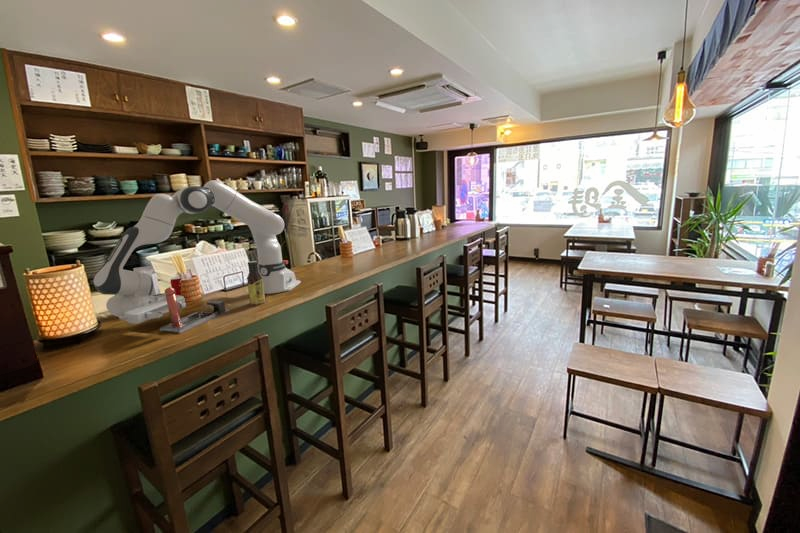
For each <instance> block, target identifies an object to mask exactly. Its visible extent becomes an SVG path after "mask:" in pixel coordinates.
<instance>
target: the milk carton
mask: <svg viewBox="0 0 800 533" xmlns="http://www.w3.org/2000/svg"><path fill="white" fill-rule="evenodd" d="M132 269H133V270H132V271H136V272H141V273H146V274H148V275H149V276H150V277H151V279H152V281H153V290H152V293H151V295H157V294H162V293H161V288H160V284H159V280H158V276H157V275H158V274H157V272H156V271H155V269H154V267H153V265H149V266H139V267H134V268H132ZM151 295H150V296H151Z"/></svg>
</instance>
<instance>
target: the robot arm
mask: <svg viewBox="0 0 800 533" xmlns="http://www.w3.org/2000/svg"><path fill="white" fill-rule="evenodd" d="M211 206H212V207H214V208H216V209H218V210H219V211H221V212H223V213H224V214H226V215H228V216H230V217H231V218H233V219H235V220H236V221H239V222H240V223H243V224H244V225H246V226H248V228H249V229H250V232H251V235H252V238H253V239H252V240H253V241H254V244H255V247H256V251H257V252H256V253H257V260H258V270H259V273H260V275H261V277H262V279H263V287H264V295H266V294H267V295H269V294H276V293H282V292H290V291H292V290H293V289H294V288H296V287H297V286H298V285H299V284H301V280H299V279H296V275H295V274H296V273H295V272H294V271H292V270H290V269H289V268H287V267H286V265H288V264H289V260H285V259H283V255H282V247H281V245H280V244H281V243H279V241H278V237H277V235H279V234H281V233H282V232H283V231H284V230H285V221H284V219H283V218H282V217H281V216H280V215H279V214H277V213H275V212H273V211H272V210H270V209H268V208H266V207H264V206H262V205H261V204H259V203H256V202H255V201H253V200H251V199H249V198H248V197H246V196H245V195H244V194H242V193H240V192H239V191H238V190H236V189H234V188H232V187H230V186H228V185H227V184H225V183H222V182H220V181H218V180H212V179H211V180H209V181H207V182H205V183H204V185H203V186H195V185H194V186H185V187H182V188H180V189H178V190H176V191H175V192H174V193H172V194H170V195H169V194H166V193H156V194H154V195H153V196H152V197H151V198H150V200H149V201H148V202H147V204H146V206H145V209H144V210H143V212H142V215H141V218H140V219H139V220H138V222H137V223H136V224H135V225H134V226H132V227H128V228H127V229H126V230H125V231H124V232H123V233H122V235H121V237H120V238H119V240H118V241H117V243H116V244H115V246H114V248H113V249H112V251H111V252H110V254H109V255H108V256H107V259H106V260H105V261H104V263H103V265H102V266H101V267H100V268H99V269H98V270H97V272H96V273H95V275H94V276H93V279H92V285H93V286H94V289H96V290H97V292H99V293H100V294H101V295H109V296H110V295H111V297H110V298H108V299H107V301H106V309H107V311H108V312H109V313H110V314H111V315H113V316H115V317H118V319H119V320H122V321H125V323H128V324H133V325H138V324H142V323H144V322H147V321H149V320H151V319H160V318H163V316H164V314H166V313H169V309H168V305H167V300H166V295H165V292H163V293H161V294H157V295H151V293H152V290H153V281H152V279H151V277H150V276H149V275H148V274H146V273H141V272H136V271H134V270H128V269H124V266H125V265H126V263H127V261H128V260H129V258H130V256H131V255H132V253H133V252H134V250H135V249H136V248H138V247H140V246H144V245H151V244H159V243H162V242H164V241H166V240H167V239H169V237H170V236H171V234H172V233H173V230H174V228H175V225H176V221H177V219H178V218H179V216H180V215H181V214H192V215H193V214H200V213H203V212H205V211H206V210H208V209H209V208H210V207H211ZM150 295H151V296H150ZM176 299H177V304H178V309H185V308H186V307H187V303H186V302H187V301H186V302H185V298H184V296H179V295H176Z"/></svg>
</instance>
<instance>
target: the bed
mask: <svg viewBox="0 0 800 533" xmlns="http://www.w3.org/2000/svg"><path fill="white" fill-rule="evenodd" d="M206 305H212V306H213V307H214V312H213V313H211V314H210V315H208V314H205V313H204V312H203V311H201V312H200V313H199V312H197V311H196V312H194V313H191V314H188V315H187V316H183V317H184V318H188V320H189V322H187V323H185V324H186V325H187V326H185V327H183V328H181V329H179V330H178V332H171V331H163V329H162V328H164V327H166V326H168V325H170V324H172V323H171V322H170V323H168V324H166V325H163V326H161V327H159V331H160V332H163V333H174V334H183V333H185V332H188V331H190V330H191V329H193V328H195V327H198V326H200V325H202V324H204V323H206V322H208V321H210V320H213V319H215V318H216V317H218V316H221V315H223V314H225V313H227V312H230V311H231V309H227V308H225V301H224V300H215V299H214V300H209V301H207V302H206Z"/></svg>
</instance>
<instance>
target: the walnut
mask: <svg viewBox="0 0 800 533" xmlns="http://www.w3.org/2000/svg"><path fill="white" fill-rule="evenodd" d="M202 312H204V313H205V314H208V315H210V314H211V313H213V312H214V307H213V306H212V305H207V304H206V305H204V307H203V309H202Z"/></svg>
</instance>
